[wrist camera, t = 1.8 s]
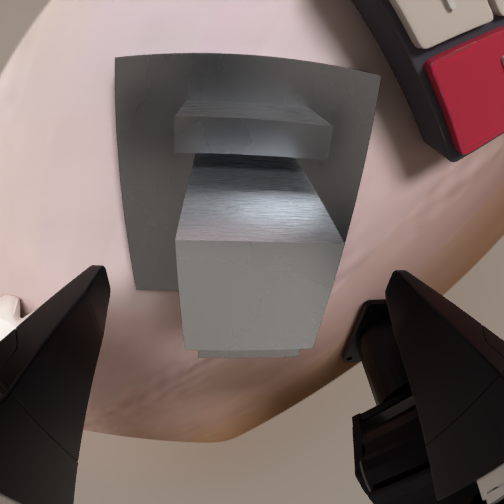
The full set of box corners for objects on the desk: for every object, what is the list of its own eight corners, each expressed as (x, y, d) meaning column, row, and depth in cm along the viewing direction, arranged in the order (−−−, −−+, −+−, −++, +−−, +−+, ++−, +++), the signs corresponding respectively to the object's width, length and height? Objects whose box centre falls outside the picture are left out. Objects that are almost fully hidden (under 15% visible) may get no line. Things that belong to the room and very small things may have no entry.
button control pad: (342, -60, 7) (546, -87, 2) (316, -38, 10) (502, -82, 5) (459, 173, 12) (603, 79, 7) (418, 141, 16) (560, 61, 11)
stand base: (325, 278, 19) (350, 346, 15) (140, 275, 18) (121, 346, 14) (370, 72, 13) (433, 91, 8) (123, 56, 11) (72, 64, 7)
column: (279, 238, 16) (309, 355, 10) (196, 236, 15) (185, 357, 10) (292, 151, 13) (344, 244, 8) (196, 147, 13) (175, 239, 7)
